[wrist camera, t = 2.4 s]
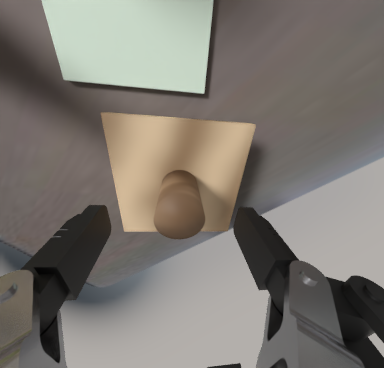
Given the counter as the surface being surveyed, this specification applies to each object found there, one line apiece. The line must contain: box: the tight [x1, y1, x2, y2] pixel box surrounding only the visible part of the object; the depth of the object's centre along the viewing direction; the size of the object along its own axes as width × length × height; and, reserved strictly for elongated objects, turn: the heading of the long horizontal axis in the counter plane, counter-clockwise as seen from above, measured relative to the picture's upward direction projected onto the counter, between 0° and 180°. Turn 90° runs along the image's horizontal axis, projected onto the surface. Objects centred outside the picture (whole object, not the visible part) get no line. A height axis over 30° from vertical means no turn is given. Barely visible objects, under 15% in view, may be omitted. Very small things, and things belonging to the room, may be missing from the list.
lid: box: [101, 112, 256, 239], centre depth 11 cm, size 11×11×5 cm
